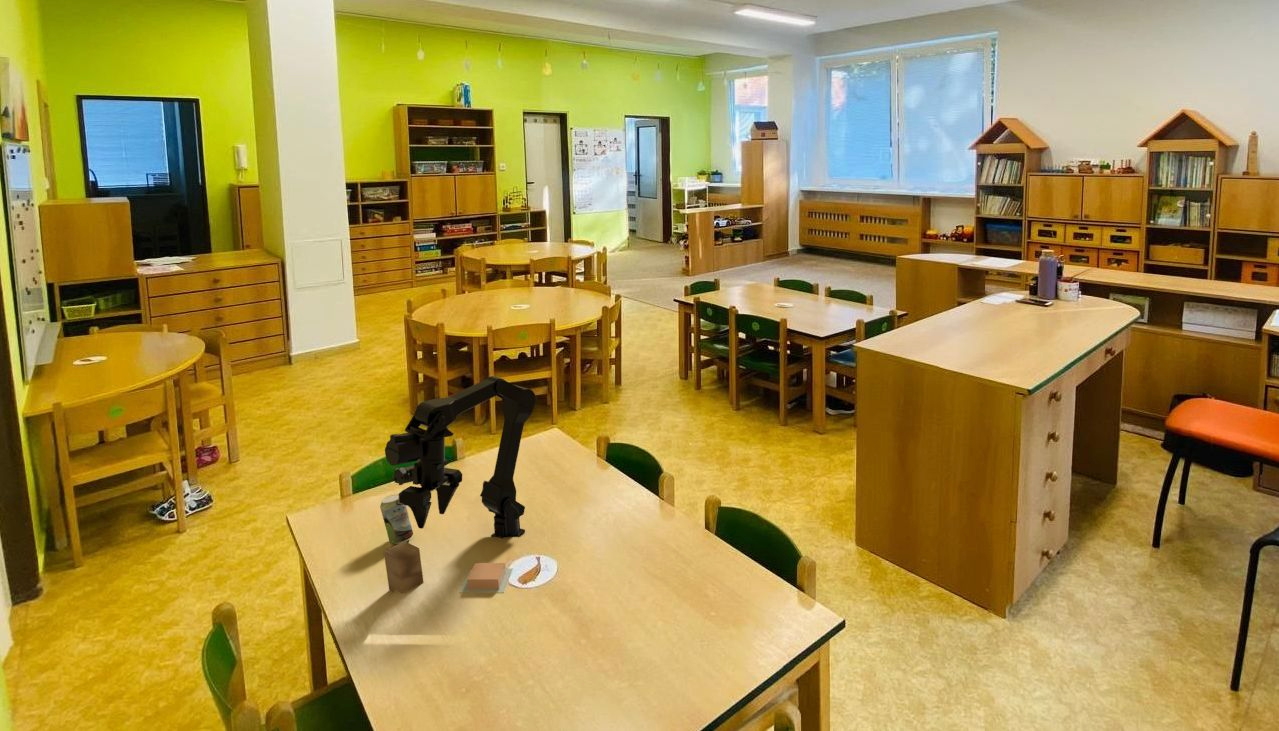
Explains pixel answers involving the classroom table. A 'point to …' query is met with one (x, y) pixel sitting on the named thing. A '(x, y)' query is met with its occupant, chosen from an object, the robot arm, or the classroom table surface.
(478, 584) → the terracotta tile
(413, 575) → the walnut pillar
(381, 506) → the beverage can
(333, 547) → the classroom table surface
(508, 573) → the grey flat square slab
